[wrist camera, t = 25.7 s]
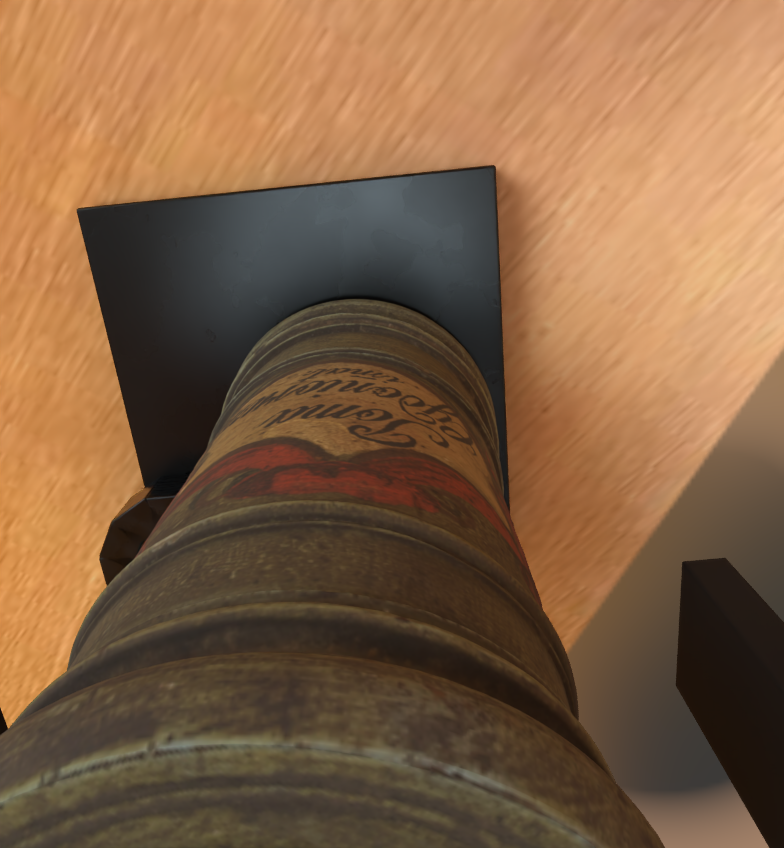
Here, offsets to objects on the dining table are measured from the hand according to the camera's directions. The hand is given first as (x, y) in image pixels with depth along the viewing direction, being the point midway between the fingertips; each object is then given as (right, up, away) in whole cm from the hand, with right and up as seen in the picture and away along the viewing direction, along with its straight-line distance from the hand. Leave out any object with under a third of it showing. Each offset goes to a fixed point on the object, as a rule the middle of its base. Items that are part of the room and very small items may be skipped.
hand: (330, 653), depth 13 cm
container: (0, +4, +11) cm, 12 cm away
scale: (-1, +5, +12) cm, 13 cm away
